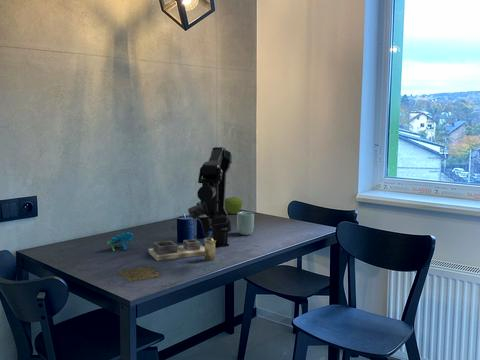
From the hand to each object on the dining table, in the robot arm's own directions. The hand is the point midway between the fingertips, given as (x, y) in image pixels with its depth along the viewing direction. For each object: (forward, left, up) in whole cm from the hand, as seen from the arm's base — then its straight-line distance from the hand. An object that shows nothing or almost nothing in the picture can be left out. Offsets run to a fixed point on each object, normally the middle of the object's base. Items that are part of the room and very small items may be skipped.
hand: (210, 237), depth 184 cm
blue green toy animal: (+28, -28, -9) cm, 40 cm away
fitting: (0, 0, -8) cm, 8 cm away
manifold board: (+8, -12, -8) cm, 17 cm away
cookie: (+29, +7, -9) cm, 31 cm away
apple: (-47, -78, -9) cm, 91 cm away
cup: (-31, -31, -9) cm, 45 cm away
